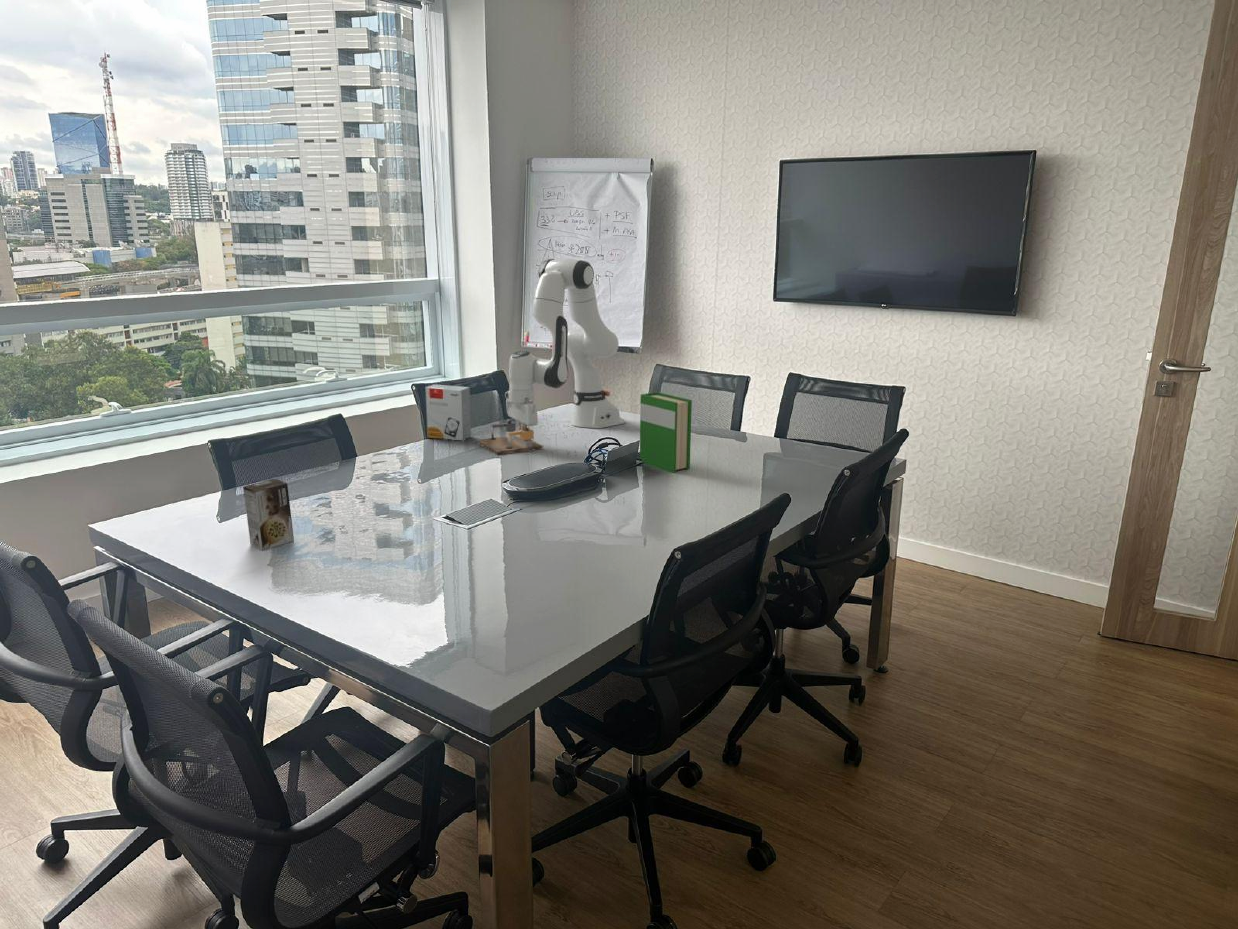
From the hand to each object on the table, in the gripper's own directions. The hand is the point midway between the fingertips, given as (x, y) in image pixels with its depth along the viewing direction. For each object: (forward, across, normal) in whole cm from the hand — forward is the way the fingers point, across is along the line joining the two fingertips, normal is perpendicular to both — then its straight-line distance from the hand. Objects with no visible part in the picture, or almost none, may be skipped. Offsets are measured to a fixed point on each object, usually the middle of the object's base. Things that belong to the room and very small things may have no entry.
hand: (522, 432), depth 321 cm
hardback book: (+6, -47, -32) cm, 57 cm away
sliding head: (+3, -3, +2) cm, 5 cm away
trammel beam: (+4, +4, +3) cm, 6 cm away
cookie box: (+6, -59, +98) cm, 114 cm away
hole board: (+5, +4, +4) cm, 8 cm away
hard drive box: (+6, +27, +19) cm, 33 cm away
